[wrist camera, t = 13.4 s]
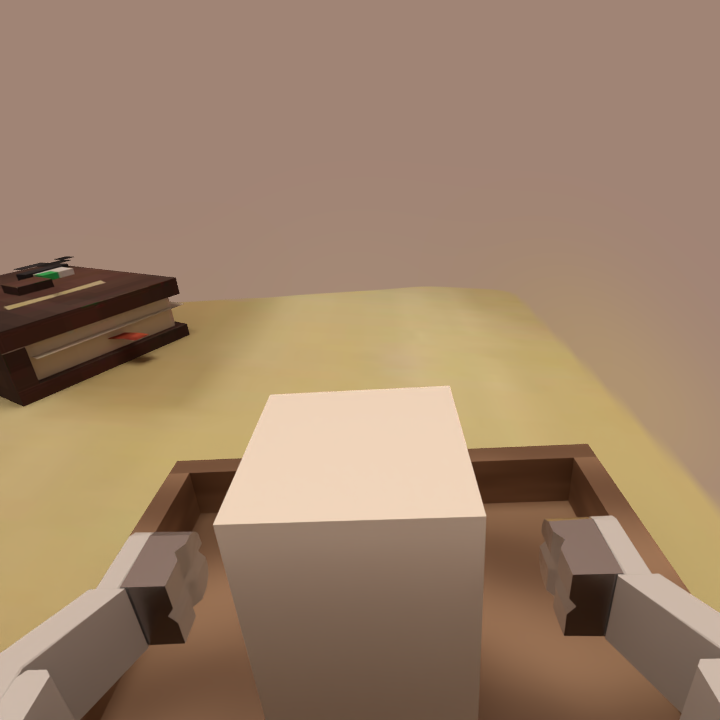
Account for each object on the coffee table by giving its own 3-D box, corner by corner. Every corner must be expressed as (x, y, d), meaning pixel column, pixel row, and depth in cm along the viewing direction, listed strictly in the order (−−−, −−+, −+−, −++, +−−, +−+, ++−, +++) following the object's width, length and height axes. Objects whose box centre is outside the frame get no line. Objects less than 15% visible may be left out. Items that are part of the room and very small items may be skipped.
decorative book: (-16, 333, 34) (-143, 295, 49) (23, 424, 37) (-108, 361, 52) (198, 268, 48) (48, 254, 63) (213, 337, 51) (67, 308, 67)
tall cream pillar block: (474, 807, 13) (486, 516, 8) (288, 805, 13) (212, 524, 9) (449, 630, 17) (449, 385, 13) (312, 632, 17) (270, 394, 13)
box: (1215, 1649, 6) (1473, 1731, 4) (-290, 1473, 7) (-481, 1492, 6) (579, 501, 24) (587, 443, 22) (192, 514, 25) (177, 461, 24)
